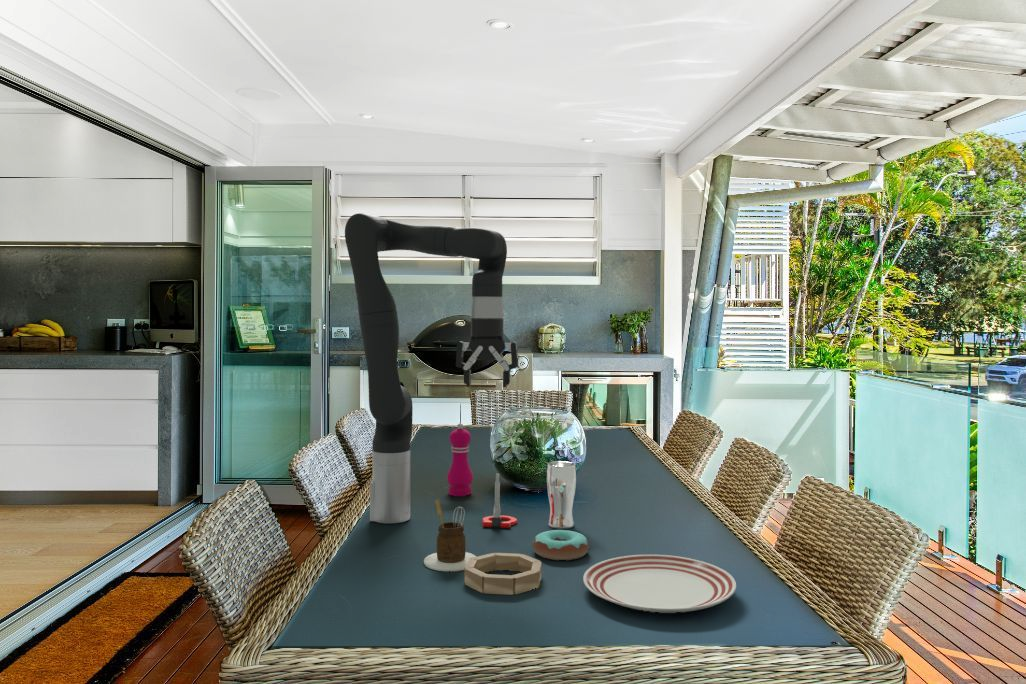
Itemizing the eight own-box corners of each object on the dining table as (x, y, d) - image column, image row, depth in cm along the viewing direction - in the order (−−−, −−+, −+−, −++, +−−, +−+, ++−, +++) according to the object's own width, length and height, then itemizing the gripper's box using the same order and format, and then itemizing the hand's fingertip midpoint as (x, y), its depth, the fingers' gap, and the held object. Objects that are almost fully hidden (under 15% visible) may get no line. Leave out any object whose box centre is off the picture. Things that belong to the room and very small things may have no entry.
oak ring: (460, 592, 139) (460, 576, 139) (473, 566, 153) (473, 551, 153) (537, 595, 137) (537, 579, 137) (543, 569, 151) (543, 554, 151)
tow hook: (485, 519, 190) (478, 527, 180) (486, 467, 190) (479, 473, 181) (519, 521, 188) (513, 529, 179) (520, 469, 188) (514, 475, 179)
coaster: (418, 570, 150) (418, 567, 150) (430, 552, 161) (430, 550, 161) (473, 572, 149) (473, 569, 149) (481, 554, 160) (481, 552, 160)
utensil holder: (459, 565, 152) (459, 505, 151) (430, 561, 154) (430, 503, 153) (469, 556, 157) (470, 498, 157) (441, 553, 159) (441, 496, 159)
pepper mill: (476, 492, 216) (476, 422, 215) (466, 497, 209) (467, 425, 209) (453, 490, 218) (453, 421, 218) (443, 495, 212) (443, 424, 211)
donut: (553, 567, 153) (553, 547, 153) (521, 551, 164) (522, 532, 163) (600, 557, 160) (600, 538, 160) (566, 542, 170) (566, 524, 170)
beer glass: (579, 523, 184) (580, 462, 184) (569, 531, 178) (570, 467, 177) (553, 520, 187) (553, 459, 187) (542, 527, 181) (542, 465, 180)
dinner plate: (634, 636, 121) (634, 616, 121) (557, 580, 146) (557, 563, 146) (769, 610, 132) (770, 591, 131) (676, 562, 157) (676, 546, 157)
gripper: (453, 316, 172) (453, 387, 172) (516, 316, 170) (515, 388, 171) (459, 316, 179) (459, 384, 180) (519, 316, 178) (519, 385, 178)
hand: (486, 386), depth 175 cm, fingers open, 8 cm apart
